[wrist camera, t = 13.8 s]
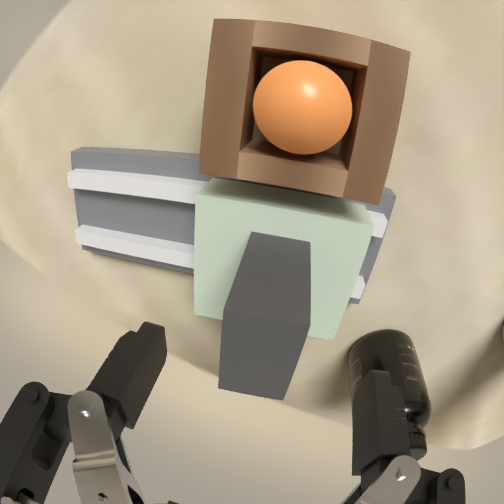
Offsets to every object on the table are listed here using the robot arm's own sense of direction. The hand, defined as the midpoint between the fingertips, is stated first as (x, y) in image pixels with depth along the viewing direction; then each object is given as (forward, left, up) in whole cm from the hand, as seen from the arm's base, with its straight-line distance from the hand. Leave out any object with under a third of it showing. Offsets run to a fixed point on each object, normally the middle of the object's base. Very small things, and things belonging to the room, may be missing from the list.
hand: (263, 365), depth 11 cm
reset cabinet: (0, -9, -13) cm, 15 cm away
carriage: (0, 0, -9) cm, 9 cm away
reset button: (0, -9, -9) cm, 12 cm away
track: (+5, 0, -13) cm, 14 cm away
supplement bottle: (-12, +11, -13) cm, 21 cm away
